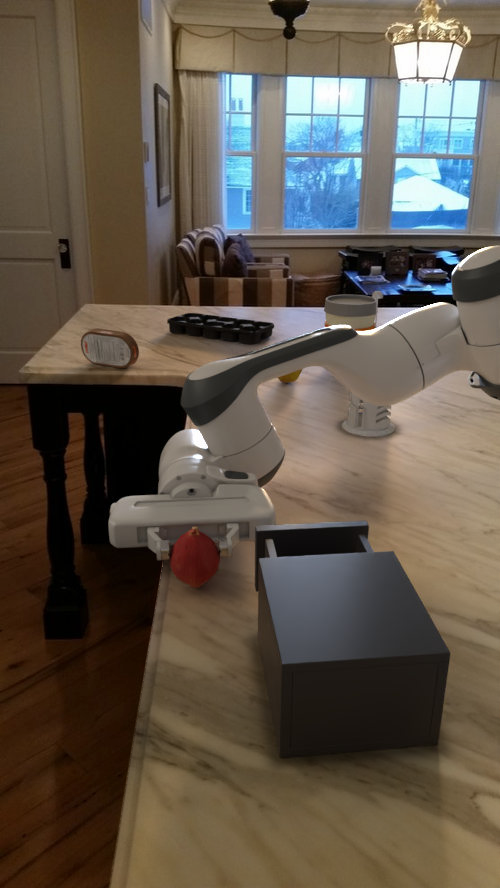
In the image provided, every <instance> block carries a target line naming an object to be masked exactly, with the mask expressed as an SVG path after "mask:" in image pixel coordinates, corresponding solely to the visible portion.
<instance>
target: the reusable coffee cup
mask: <svg viewBox="0 0 500 888" xmlns="http://www.w3.org/2000/svg"><path fill="white" fill-rule="evenodd" d="M376 304H377V299H376V298H372V296H368V295H364V294H335V295H329V296H327V297H326V298H325V301H324V307H323V308H324V309H323V311H324V313H325V321H324V328H326V327H330V326H337V325H348V326H350V327H352V328H353V329H354V330H356V331H360V332H361V331H370V330H374V329H375V318H376ZM377 314H378V310H377Z"/></svg>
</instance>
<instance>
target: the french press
mask: <svg viewBox="0 0 500 888" xmlns="http://www.w3.org/2000/svg"><path fill="white" fill-rule="evenodd" d="M371 297H372V298H375V299H377V304H376V316H375V321H374V323H375V329H377V321H378V320H377V319H378V313H377V311H378V307H379V299H384V293H383V292H382V291H380V290H375V291H374V292H372V295H371ZM348 393H349V394H348V410H347V418H346V420H344V421H343V422H342V424H341V427H342V429H343V430H344V431H346V432H347V433H349V434H353V435H355V436H361V437H383V436H388V435H390V434H392V433H394V431H395V430H396V427H395V425H394V424H393V423H392V422H391V418H390V417H391V415H392V412H391V411H389V410H392V405H391V406H377V405H372V404H369V403H367V402H365V401H363V400H361V399H359V398H358V397H356V396H355V395H354V394H352V393H351V392H350V391H349V390H348ZM360 410H362V412H361V411H360Z"/></svg>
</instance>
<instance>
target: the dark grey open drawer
mask: <svg viewBox="0 0 500 888" xmlns="http://www.w3.org/2000/svg"><path fill="white" fill-rule="evenodd" d="M369 529H370V525H369V524H368V521H367V520H349V521H346V520H345V521H328V522H309V523H294V524H293V523H290V524H289V523H287V524H276V525H267V526H255V541H254V588H255V592H256V593H258V567H259V566H258V563H259V558H276V557H294V556H312V555H330V554H348V553H367V552H375V551H374V549H373V547H372V546H371V544H370V541H369Z"/></svg>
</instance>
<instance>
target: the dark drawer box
mask: <svg viewBox="0 0 500 888" xmlns="http://www.w3.org/2000/svg"><path fill="white" fill-rule="evenodd" d="M258 566H259V567H258V592H257V602H258V603H257V641H258V647H259V653H260V657H261V664H262V669H263V675H264V679H265V687H266V691H267V696H268V702H269V707H270V713H271V719H272V723H273V729H274V736H275V741H276V745H277V751H278V757H279V758H281V759H282V758H283V759H284V758H293V757H295V758H296V757H306V756H307V757H308V756H317V755H318V756H319V755H330V754H331V755H332V754H342V753H355V752H365V751H376V750H377V751H378V750H389V749H402V748H415V747H426V746H437V745H439V740H440V733H441V725H442V720H443V719H442V717H443V711H444V705H445V704H444V703H445V697H446V689H447V682H448V675H449V669H450V668H449V667H450V659H451V651H450V649H449V647H448V646H447V644H446V642H445V641H444V639H443V637H442V635H441V633H440V631H439V630H438V628H437V626H436V625H435V624H436V623H435V622H434V621H433V619H432V617H431V615H430V613H429V612H428V610H427V608H426V607H425V605H424V603H423V601H422V599H421V598H420V596H419V594H418V592H417V591H416V589H415V587H414V585H413V583H412V582H411V580H410V578H409V577H408V574H407V572H406V571H405V569H404V567H403V565H402V564H401V562H400V560H399V558H398V557H397V555H396V553H395V551H394V550H388V551H386V550H385V551H374V552H367V553H348V554H330V555H312V556H294V557H276V558H259V563H258Z"/></svg>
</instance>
